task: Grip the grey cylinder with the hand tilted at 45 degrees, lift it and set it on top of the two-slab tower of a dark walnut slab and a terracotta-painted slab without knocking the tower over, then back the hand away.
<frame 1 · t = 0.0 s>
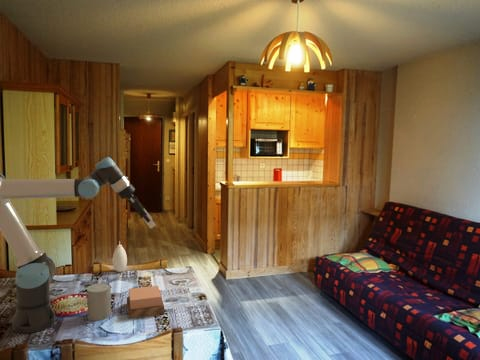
hand: (151, 223, 173), 36 cm above the table, tool tilted 35°, fingers open, 13 cm apart
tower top: (144, 301, 165), point 3 cm above the table, touching tower base
tower base: (144, 310, 165), on the table, touching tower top
grey cylinder: (99, 315, 158), on the table
cream ovoid candle: (119, 271, 210), on the table
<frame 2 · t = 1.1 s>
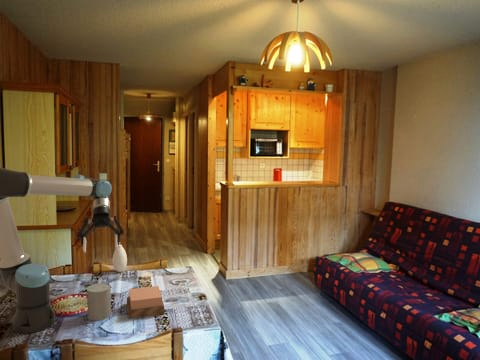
hand: (100, 250, 165), 26 cm above the table, tool tilted 40°, fingers open, 13 cm apart
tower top: (145, 301, 164), point 3 cm above the table
tower base: (145, 310, 165), on the table
everything else where it was.
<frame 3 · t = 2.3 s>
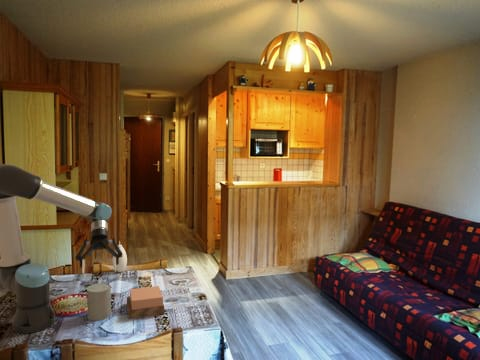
hand: (99, 272, 166), 15 cm above the table, tool tilted 45°, fingers open, 13 cm apart
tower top: (146, 301, 164), point 3 cm above the table, touching tower base
tower base: (144, 309, 165), on the table, touching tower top
everything else where it was.
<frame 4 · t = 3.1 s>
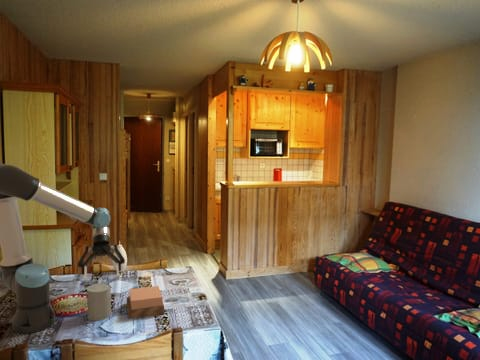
hand: (101, 279, 165), 13 cm above the table, tool tilted 45°, fingers open, 13 cm apart
nothing on the table moved.
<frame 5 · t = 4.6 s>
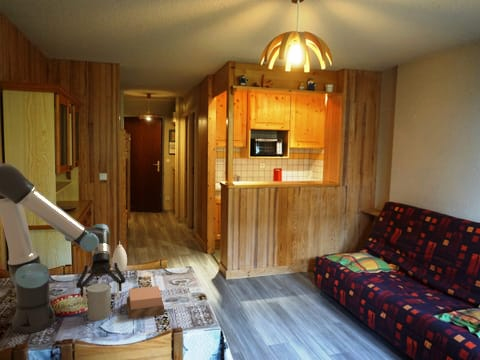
hand: (101, 300, 158), 6 cm above the table, tool tilted 45°, fingers open, 13 cm apart
nothing on the table moved.
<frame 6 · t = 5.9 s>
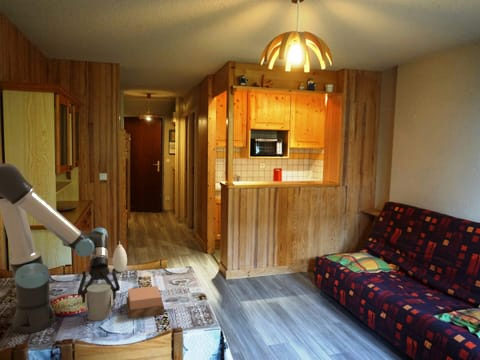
hand: (99, 308, 155), 4 cm above the table, tool tilted 45°, fingers closed on grey cylinder, 9 cm apart
grey cylinder: (99, 315, 158), on the table, touching gripper
everything else where it was.
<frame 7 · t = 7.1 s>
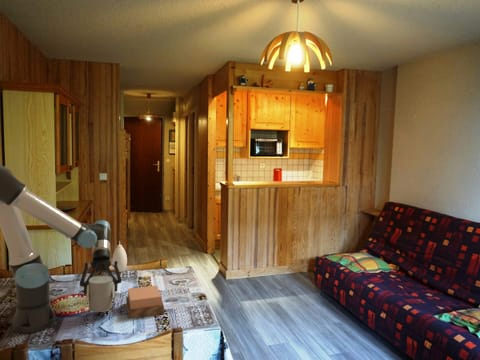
hand: (100, 299, 155), 8 cm above the table, tool tilted 45°, fingers closed on grey cylinder, 9 cm apart
grey cylinder: (100, 307, 158), point 3 cm above the table, touching gripper
everything else where it was.
when the fingers open (14 cm above the table, at t = 11.9 s): grey cylinder stays where it is, resting on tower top.
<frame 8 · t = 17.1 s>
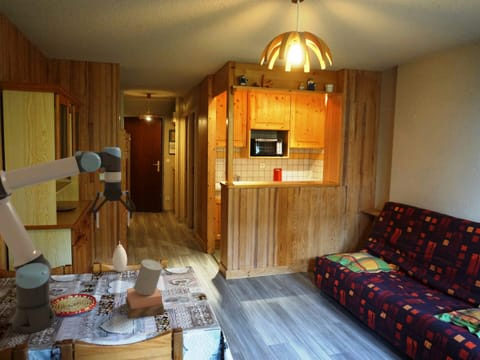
hand: (113, 226, 171), 35 cm above the table, tool pointing down, fingers open, 13 cm apart
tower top: (144, 300, 165), point 3 cm above the table, touching grey cylinder, tower base
grey cylinder: (144, 289, 164), point 9 cm above the table, touching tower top
everything else where it was.
at the end: grey cylinder inside the target area on the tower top (0.1 cm from its centre), point 4.7 cm above the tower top's base; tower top 0.4 cm off-centre on the tower base, point 4.0 cm above the tower base's base; tower base moved 0.9 cm from its start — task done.
